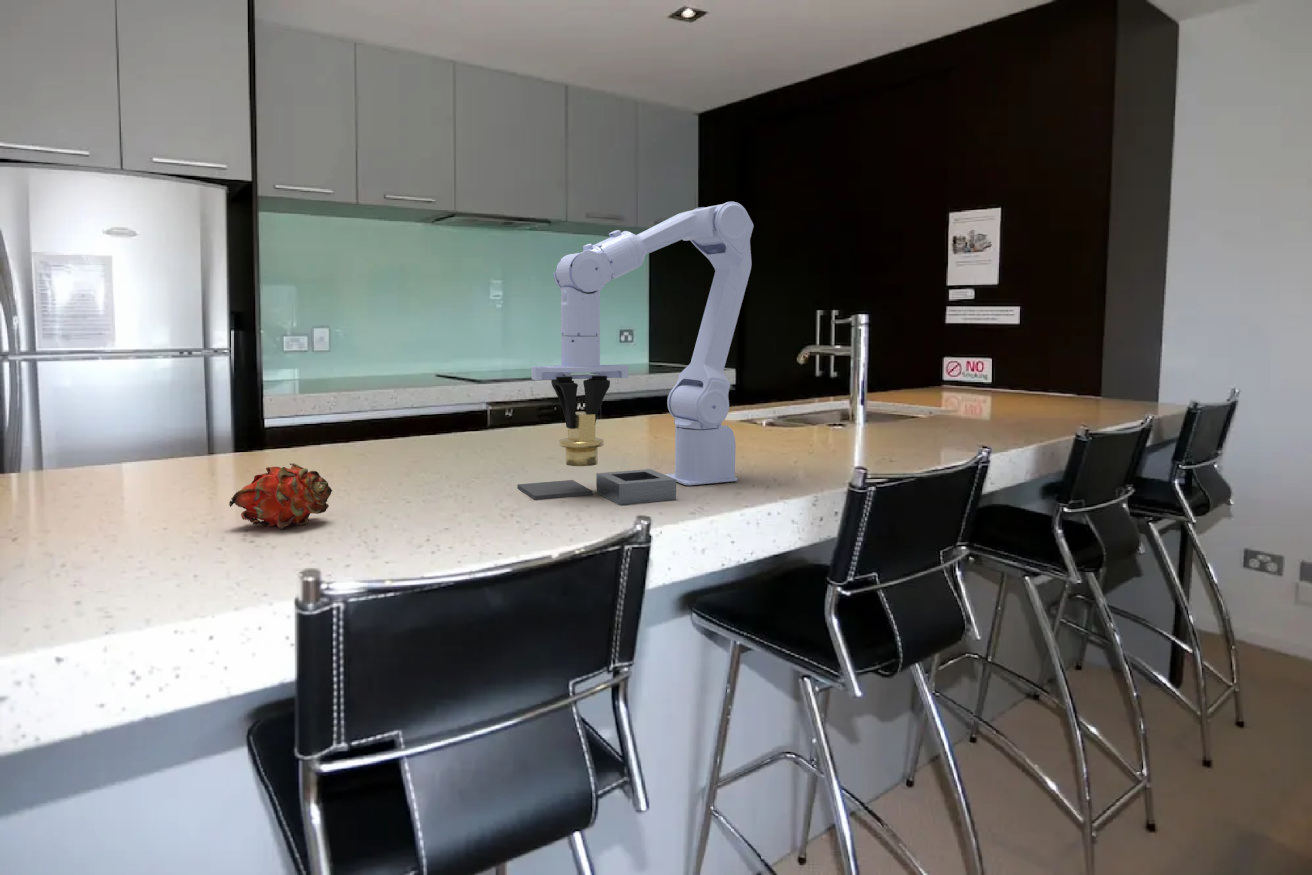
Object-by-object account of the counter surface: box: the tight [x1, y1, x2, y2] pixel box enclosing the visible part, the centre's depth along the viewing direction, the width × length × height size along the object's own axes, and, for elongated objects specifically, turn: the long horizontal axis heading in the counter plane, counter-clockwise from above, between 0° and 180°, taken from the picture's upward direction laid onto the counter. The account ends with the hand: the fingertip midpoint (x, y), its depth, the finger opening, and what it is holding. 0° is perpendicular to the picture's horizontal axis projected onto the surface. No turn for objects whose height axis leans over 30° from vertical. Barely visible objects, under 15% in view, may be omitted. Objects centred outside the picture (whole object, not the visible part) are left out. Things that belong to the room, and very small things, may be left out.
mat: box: [517, 479, 594, 501], centre depth 129 cm, size 9×9×1 cm
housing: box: [595, 468, 677, 506], centre depth 125 cm, size 9×9×3 cm
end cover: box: [558, 411, 605, 467], centre depth 126 cm, size 7×7×8 cm
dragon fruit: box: [228, 462, 333, 530], centre depth 107 cm, size 8×8×12 cm
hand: (580, 427), depth 126 cm, fingers closed on end cover, 2 cm apart
